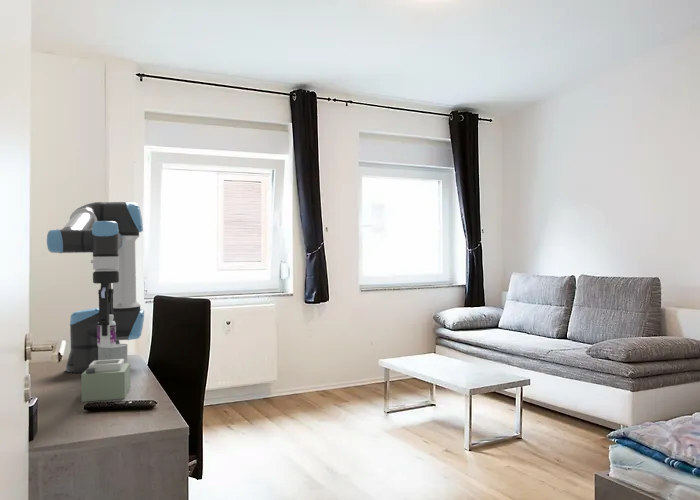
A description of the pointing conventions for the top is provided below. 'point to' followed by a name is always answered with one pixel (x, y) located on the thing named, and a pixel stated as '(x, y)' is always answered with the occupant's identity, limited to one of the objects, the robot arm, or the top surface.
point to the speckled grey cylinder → (113, 352)
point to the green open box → (106, 380)
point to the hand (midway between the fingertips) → (106, 344)
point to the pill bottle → (112, 332)
